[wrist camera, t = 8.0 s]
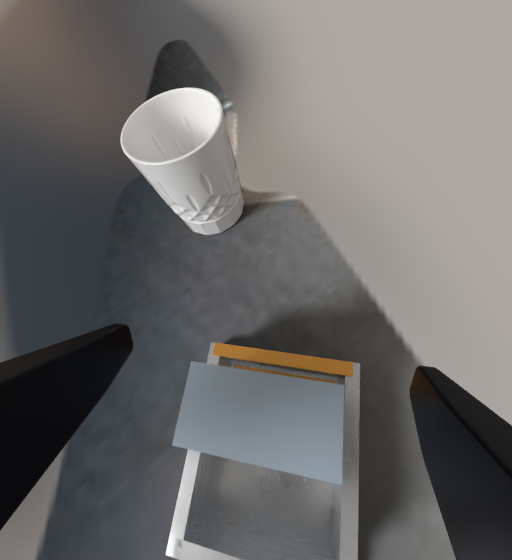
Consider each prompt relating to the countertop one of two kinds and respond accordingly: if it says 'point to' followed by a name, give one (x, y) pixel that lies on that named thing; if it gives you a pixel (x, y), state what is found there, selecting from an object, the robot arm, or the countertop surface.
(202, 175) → the white cup
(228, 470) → the rack
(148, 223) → the countertop surface
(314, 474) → the blue-grey rectangular block
